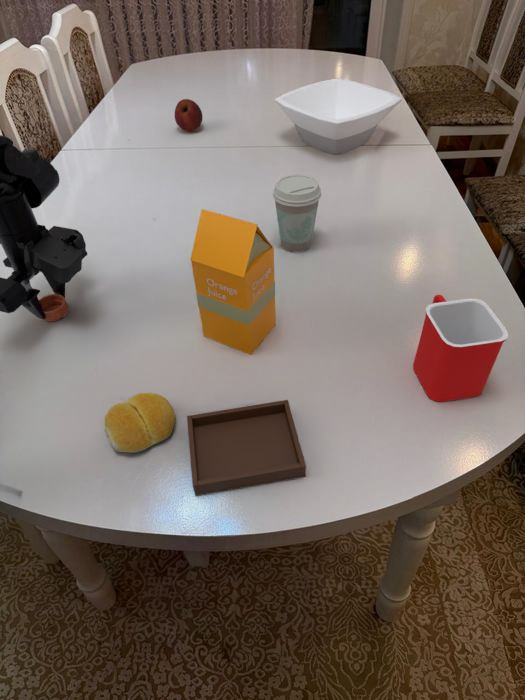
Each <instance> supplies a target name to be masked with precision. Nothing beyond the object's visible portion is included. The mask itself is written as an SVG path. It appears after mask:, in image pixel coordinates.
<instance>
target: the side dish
mask: <svg viewBox="0 0 525 700" xmlns="http://www.w3.org/2000/svg"><path fill="white" fill-rule="evenodd" d="M38 300H39V302H40V304H41V306H42V309H43V311H44V314H45V317H46V318H45V319H44V320H43V319H41V320H42V321H44V322H49V323H50V322H51V323H52V322H57V321H59V320H61V319H63V318H65V317H66V315H67V314H68V312H69V309H70V308H69V304H68V302H67V300H66V297H65V298H64V296H62V295H60V294H55V293H52V294H50V293H49V294H47V295H44V296H42V297H40V298H38Z"/></svg>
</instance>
